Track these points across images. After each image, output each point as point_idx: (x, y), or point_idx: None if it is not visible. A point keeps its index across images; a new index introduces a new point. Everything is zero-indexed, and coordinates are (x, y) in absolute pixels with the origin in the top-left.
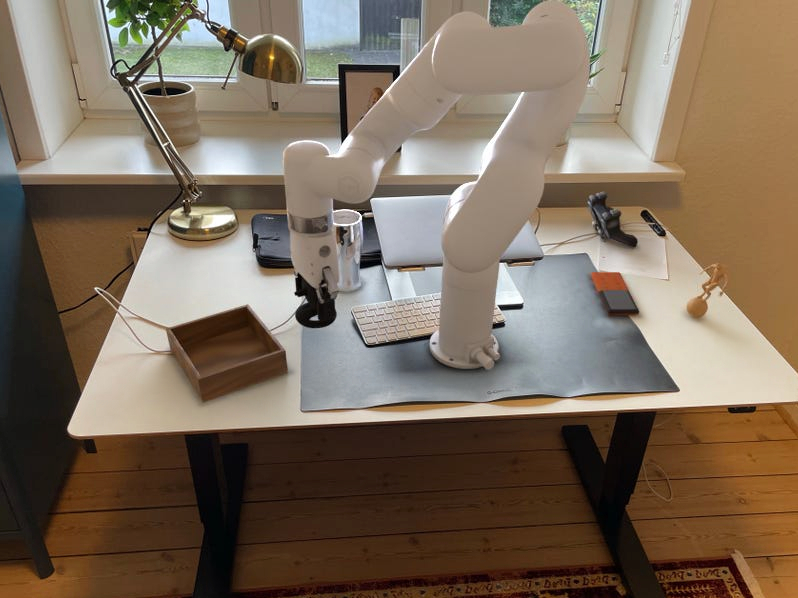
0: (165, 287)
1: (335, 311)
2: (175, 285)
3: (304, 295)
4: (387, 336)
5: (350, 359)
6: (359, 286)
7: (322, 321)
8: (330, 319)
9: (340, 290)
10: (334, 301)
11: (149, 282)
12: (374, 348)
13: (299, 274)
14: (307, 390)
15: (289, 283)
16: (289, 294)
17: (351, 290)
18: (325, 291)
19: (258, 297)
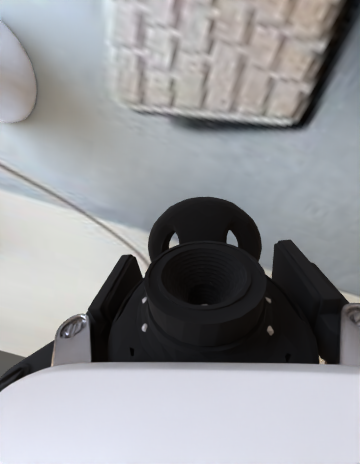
0: (34, 343)
1: (223, 207)
2: (29, 336)
3: (142, 278)
4: (298, 33)
5: (319, 186)
6: (7, 29)
7: (255, 256)
8: (255, 233)
9: (33, 107)
10: (324, 281)
11: (24, 351)
12: (323, 107)
13: (107, 357)
14: (342, 281)
15: (9, 213)
16: (50, 225)
17: (32, 70)
18: (316, 351)
19: (59, 270)
